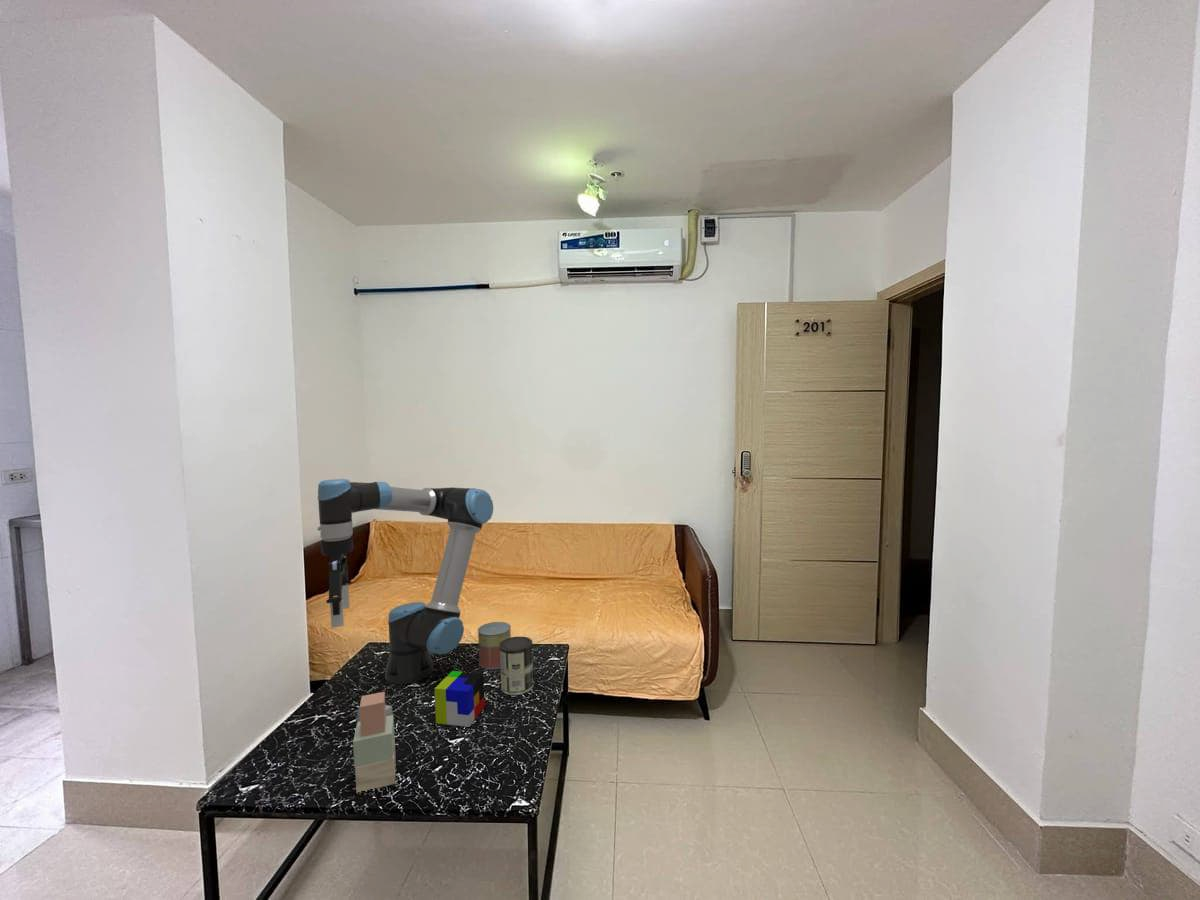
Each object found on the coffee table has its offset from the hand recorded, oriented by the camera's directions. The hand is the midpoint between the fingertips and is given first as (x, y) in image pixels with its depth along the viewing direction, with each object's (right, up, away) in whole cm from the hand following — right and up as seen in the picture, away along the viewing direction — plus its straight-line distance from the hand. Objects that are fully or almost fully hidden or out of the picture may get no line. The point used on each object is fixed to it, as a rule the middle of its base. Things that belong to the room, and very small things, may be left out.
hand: (340, 617), depth 131 cm
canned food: (+32, -30, +42) cm, 61 cm away
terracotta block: (+16, -21, -15) cm, 30 cm away
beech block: (+16, -33, -15) cm, 40 cm away
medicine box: (+10, -33, 0) cm, 34 cm away
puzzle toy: (+29, -32, +10) cm, 44 cm away
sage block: (+16, -27, -15) cm, 35 cm away
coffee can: (+43, -31, +25) cm, 58 cm away
